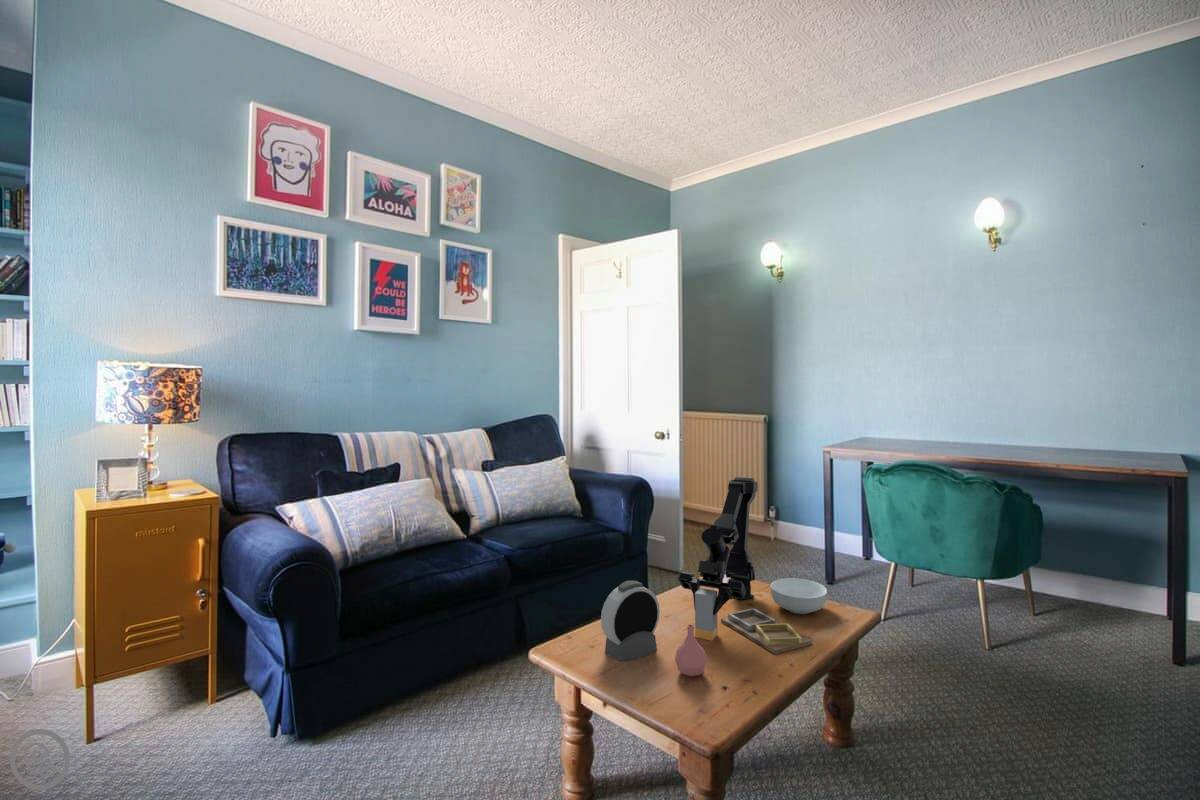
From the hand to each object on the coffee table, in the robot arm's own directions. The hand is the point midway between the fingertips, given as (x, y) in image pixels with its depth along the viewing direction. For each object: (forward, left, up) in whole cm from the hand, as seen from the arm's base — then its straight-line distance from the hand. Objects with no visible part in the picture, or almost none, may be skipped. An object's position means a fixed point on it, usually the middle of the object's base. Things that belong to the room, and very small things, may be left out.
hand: (704, 612), depth 163 cm
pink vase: (+15, -15, -7) cm, 22 cm away
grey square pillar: (-1, +1, -7) cm, 7 cm away
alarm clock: (-3, -22, -7) cm, 23 cm away
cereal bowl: (-4, +38, -7) cm, 39 cm away
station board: (+5, +17, -7) cm, 19 cm away
